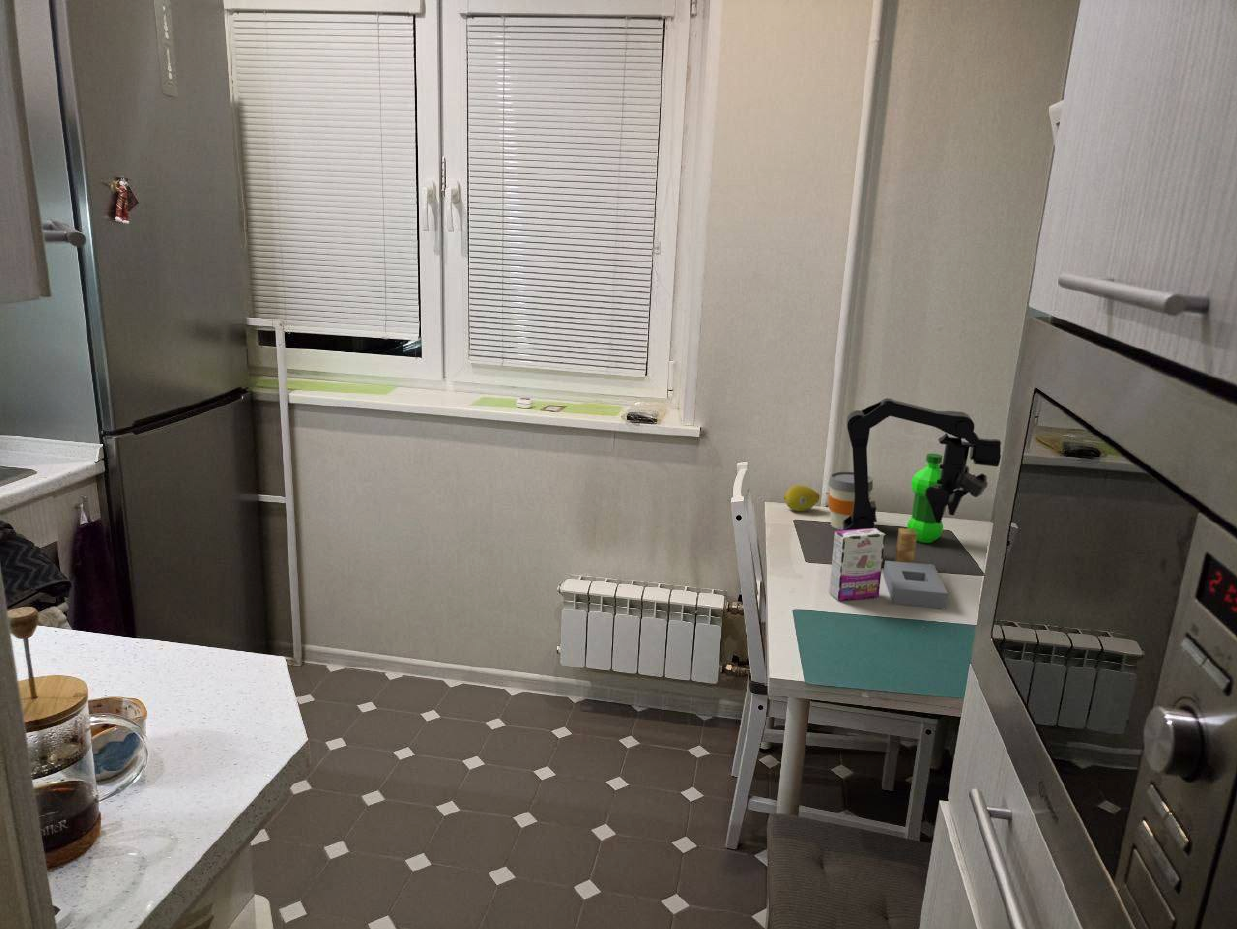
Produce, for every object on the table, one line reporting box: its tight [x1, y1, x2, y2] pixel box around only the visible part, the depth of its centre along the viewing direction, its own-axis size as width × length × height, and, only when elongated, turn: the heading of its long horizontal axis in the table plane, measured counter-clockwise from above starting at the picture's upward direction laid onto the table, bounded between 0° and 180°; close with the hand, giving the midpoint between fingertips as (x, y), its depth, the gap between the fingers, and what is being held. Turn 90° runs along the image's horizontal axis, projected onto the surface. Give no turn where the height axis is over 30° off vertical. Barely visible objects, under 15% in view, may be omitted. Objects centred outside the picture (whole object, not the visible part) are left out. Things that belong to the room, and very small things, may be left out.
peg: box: [894, 527, 917, 563], centre depth 236 cm, size 4×4×10 cm
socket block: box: [882, 560, 949, 610], centre depth 222 cm, size 12×18×4 cm, turn 171°
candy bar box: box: [829, 527, 886, 602], centre depth 216 cm, size 11×5×16 cm, turn 105°
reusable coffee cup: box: [828, 471, 874, 531], centre depth 266 cm, size 13×13×15 cm
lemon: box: [783, 484, 820, 512], centre depth 279 cm, size 11×8×8 cm
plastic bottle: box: [906, 453, 944, 544], centre depth 255 cm, size 10×10×25 cm
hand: (944, 518), depth 236 cm, fingers open, 9 cm apart
